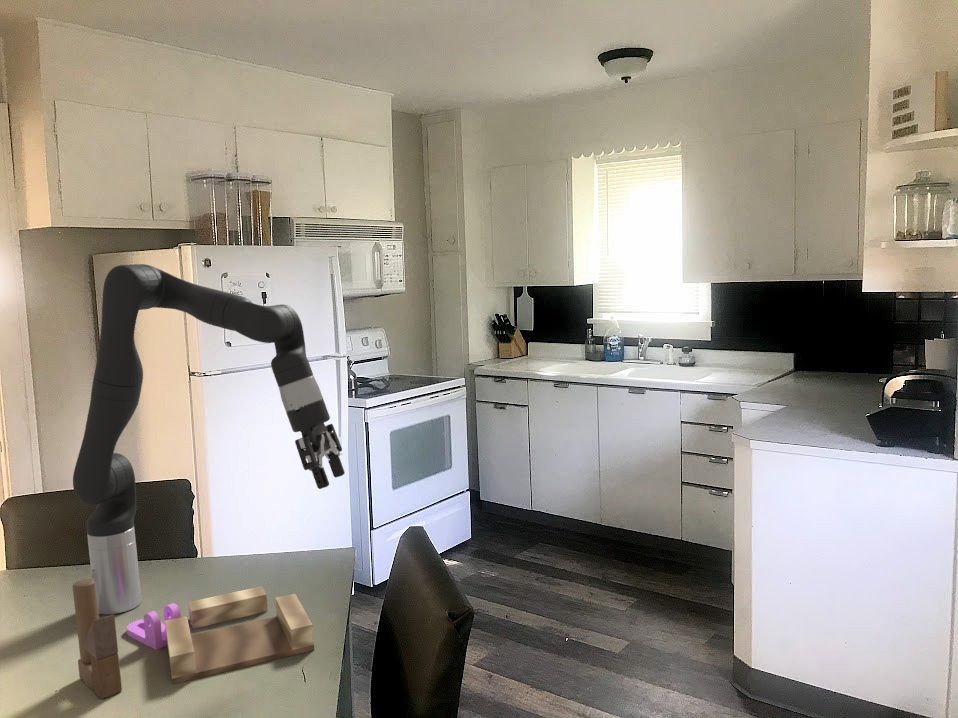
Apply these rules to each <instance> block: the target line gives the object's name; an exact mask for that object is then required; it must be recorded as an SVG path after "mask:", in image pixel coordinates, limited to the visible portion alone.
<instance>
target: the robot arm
mask: <svg viewBox="0 0 958 718" xmlns="http://www.w3.org/2000/svg"><path fill="white" fill-rule="evenodd" d="M101 301H102V302H101V303H102V305H101V323H100V325H101V326H100V336H99V342H98V351H97V358H96V364H95V369H94V374H93V380H92V386H91V393H90V400H89V406H88V411H87V413H88V414H87V418H86V423H85V428H84V429H85V430H84V432H83V433H84V434H83V437H82V442H81V445H80V449H79V451H78V452H79V453H78V455H77V459H76V463H75V466H74V471H73V476H72V487H73V492H74V494H75V496H76V497H77V500H79V501H80V502H82V503H83V504H85V505H89V506H90V505H91V506H92V505H94V506H95V505H97V506H96V509H95V510H94V511H93V512H92V513H91V515H89V517H88V519H87V520H86V524H85V526H86V534H87V536H86V537H87V544H88V554H89V562H90V579H93V580H94V581H95V586H96V595H97V604H98V614H99V615H112V614H114V615H115V614H116V615H117V614H120V613H124V612H128V611H130V610H133V609H135V608H137V607H138V606H139V605H141V603H142V599H143V598H142V590H141V581H140V571H139V561H138V560H139V559H138V552H137V551H138V550H137V542H136V534H135V533H136V532H135V531H136V530H135V516H136V514H137V513H136V512H137V492H136V491H137V489H136V487H137V486H136V478H135V477H136V476H135V470H134V467H133V465H132V463H131V462H130V460H129V459H128V458H127V456H126V455H123V454H122V453H117V452H116V453H115V449H116V446H117V442H118V440H119V439H120V437H121V436H122V433H123V432H124V430H125V429H126V427H127V425H128V424H129V422H130V421H131V418H132V417H133V416H134V413H135V412H136V409H137V408H138V405H139V402H140V398H141V393H142V387H143V381H144V368H143V364H142V361H141V359H140V355H139V353H138V350H137V346H136V343H135V331H136V330H135V329H136V324H137V319H138V318H137V317H138V313H139V312H140V311H141V310H149V309H152V308H159V309H171V310H177V311H180V312H184V313H185V314H188V315H190V316H191V317H193V318H195V319H197V320H198V321H200V322H203V323H204V324H208V325H211V326H213V327H218V328H220V329H226V330H228V331H234V332H236V333H238V334H240V335H241V336H244V337H245V338H248V339H250V340H253V341H254V342H255V341H256V342H259V343H265V344H272V343H274V349H275V356H274V357H273V358H272V359H271V361H270V367H271V371H272V373H273V375H274V379H275V381H276V383H277V386H278V390H279V395H280V399H281V402H282V405H283V407H284V410H285V412H286V415H287V419H288V422H289V424H290V427H291V429H292V431H293V432H294V433H299V432H300V433H301V436H302V437H300V438H298V439H295V440H294V443H295V447H296V450H297V452H298V456H299V458H300V461H301V465H302V468H303V469H304V470H305V471H307V470H309V472H311V474H312V476H313V479H314V482H315V485H316V487H317V488H318V489H319V490H320V489H324V488H328V487H329V486H330V482H329V479H328V476H327V474H326V471H325V468H324V466H323V457H324V456H325V458H327V462H328V464H329V467H330V470H331V473H332V476H333V477H334V478H339V477H342V476H344V475H345V470H344V466H343V464H342V461H341V458H340V456H341V453H340V452H342V451H343V448H342V445H341V443H340V440H339V437H338V435H337V433H336V429H335V427H334V425H333V423H330V424H326V425H325V423H327V422H328V421H329V420H330V419H331V416H330V413H329V410H328V408H327V406H326V402H325V400H324V397H323V395H322V391H321V389H320V386H319V384H318V382H317V380H316V378H315V376H314V373H313V371H312V368H311V364H310V363H309V360H308V357H307V353H306V352H307V351H306V343H305V342H306V341H305V335H304V328H303V323H302V320H301V318H300V316H299V314H298V313H297V312H296V310H295V309H294V308H293V307H291V306H289V305H288V304H275V305H260V304H257V303H253V302H252V301H251V300H250V299H249V298H247V297H245V296H242V295H239V294H238V295H237V294H235V293H231V292H226V291H223V290H218V289H215V288H211V287H207V286H203V285H198V284H196V283H192V282H190V281H186V280H184V279H182V278H179V277H177V276H175V275H172V274H170V273H169V272H167V271H164V270H162V269H160V268H158V267H155V266H152V265H149V264H145V263H144V264H143V263H142V264H141V263H138V264H137V263H136V264H120V265H117V266H114V267H112V268H111V269H110V271H108V273H107V275H106V277H105V278H104V282H103V288H102V300H101Z"/></svg>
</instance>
